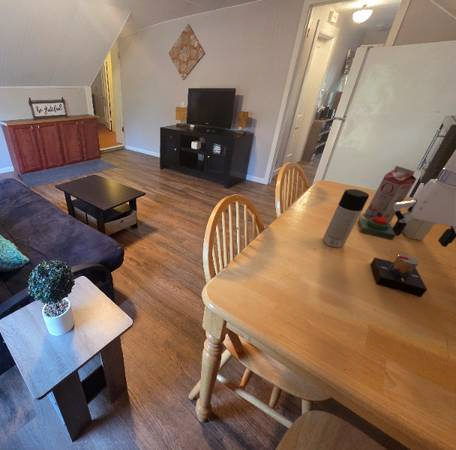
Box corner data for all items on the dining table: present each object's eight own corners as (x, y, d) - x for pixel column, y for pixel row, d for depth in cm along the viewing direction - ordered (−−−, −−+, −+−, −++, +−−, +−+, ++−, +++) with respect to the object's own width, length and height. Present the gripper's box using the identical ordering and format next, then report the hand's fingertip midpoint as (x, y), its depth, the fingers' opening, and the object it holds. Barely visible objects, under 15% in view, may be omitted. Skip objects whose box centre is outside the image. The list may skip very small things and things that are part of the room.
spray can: (348, 247, 87) (375, 196, 76) (331, 249, 86) (356, 197, 75) (333, 236, 92) (357, 187, 82) (317, 238, 91) (339, 188, 81)
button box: (387, 228, 98) (392, 220, 95) (393, 239, 91) (398, 231, 89) (357, 222, 102) (361, 213, 100) (360, 232, 95) (365, 223, 93)
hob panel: (410, 275, 75) (416, 267, 73) (420, 297, 67) (427, 289, 66) (370, 264, 79) (374, 256, 77) (376, 284, 71) (381, 276, 70)
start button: (383, 221, 95) (385, 218, 94) (385, 226, 92) (387, 222, 91) (372, 219, 96) (374, 215, 96) (373, 223, 94) (376, 219, 93)
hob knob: (406, 270, 72) (416, 256, 69) (410, 279, 69) (421, 265, 66) (387, 265, 74) (397, 251, 71) (391, 273, 71) (401, 259, 68)
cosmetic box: (399, 230, 97) (417, 202, 90) (412, 231, 96) (431, 204, 89) (410, 239, 91) (429, 210, 85) (423, 240, 91) (444, 212, 84)
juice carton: (378, 222, 101) (408, 172, 90) (363, 215, 107) (389, 166, 95) (391, 221, 103) (421, 170, 91) (375, 213, 108) (402, 165, 97)
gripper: (504, 181, 57) (455, 241, 66) (409, 168, 64) (376, 223, 73) (525, 193, 51) (468, 256, 60) (418, 177, 58) (381, 235, 67)
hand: (417, 238), depth 67 cm, fingers open, 9 cm apart
